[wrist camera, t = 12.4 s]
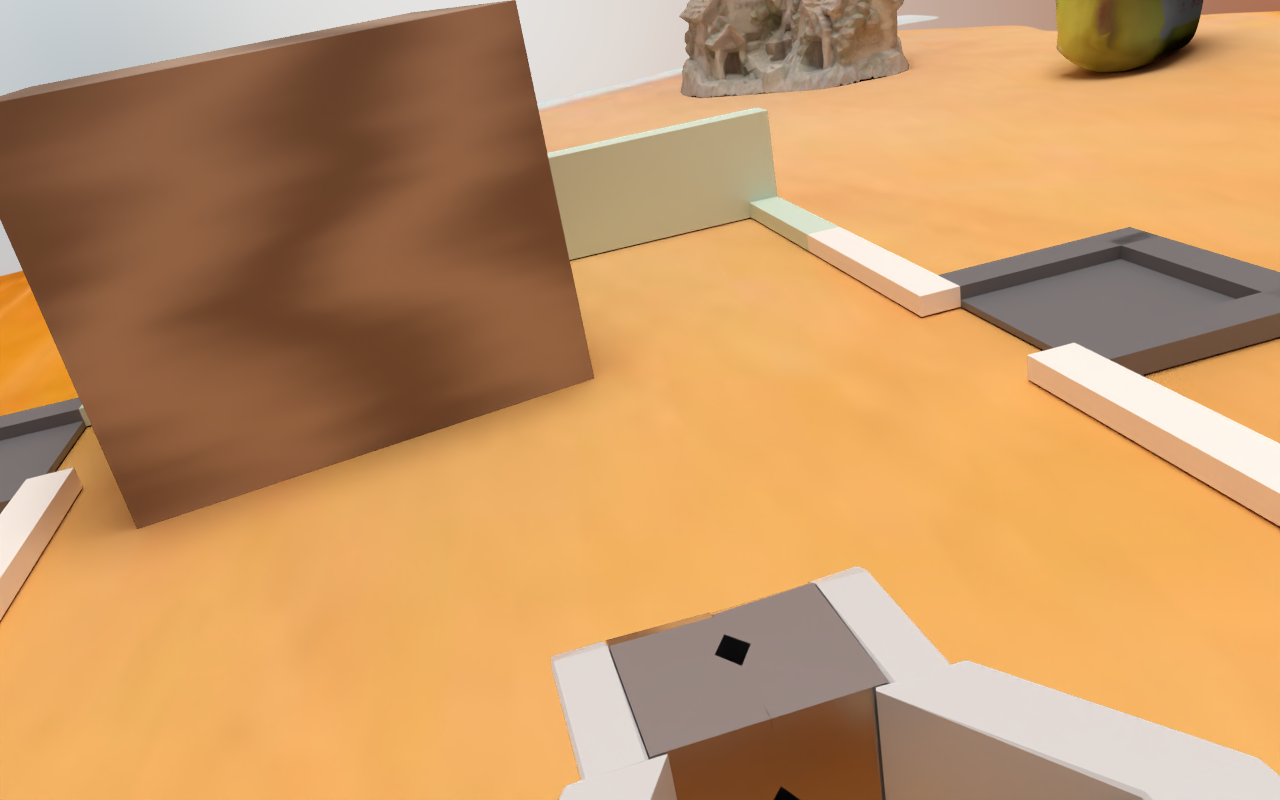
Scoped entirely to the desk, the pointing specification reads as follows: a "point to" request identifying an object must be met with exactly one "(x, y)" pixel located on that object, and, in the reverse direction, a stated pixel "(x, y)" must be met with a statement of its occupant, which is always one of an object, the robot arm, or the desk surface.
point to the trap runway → (996, 291)
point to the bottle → (1123, 31)
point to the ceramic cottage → (788, 45)
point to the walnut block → (294, 248)
